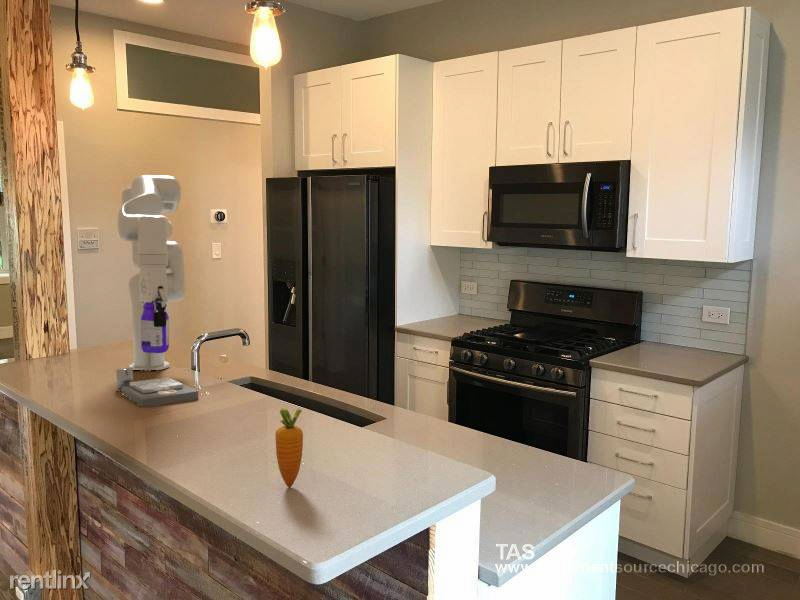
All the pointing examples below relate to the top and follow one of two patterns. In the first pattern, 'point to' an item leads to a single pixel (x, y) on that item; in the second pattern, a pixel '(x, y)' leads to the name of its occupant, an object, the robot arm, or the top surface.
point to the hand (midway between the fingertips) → (154, 324)
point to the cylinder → (124, 377)
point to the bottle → (153, 332)
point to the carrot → (289, 447)
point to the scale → (160, 396)
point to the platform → (156, 385)
